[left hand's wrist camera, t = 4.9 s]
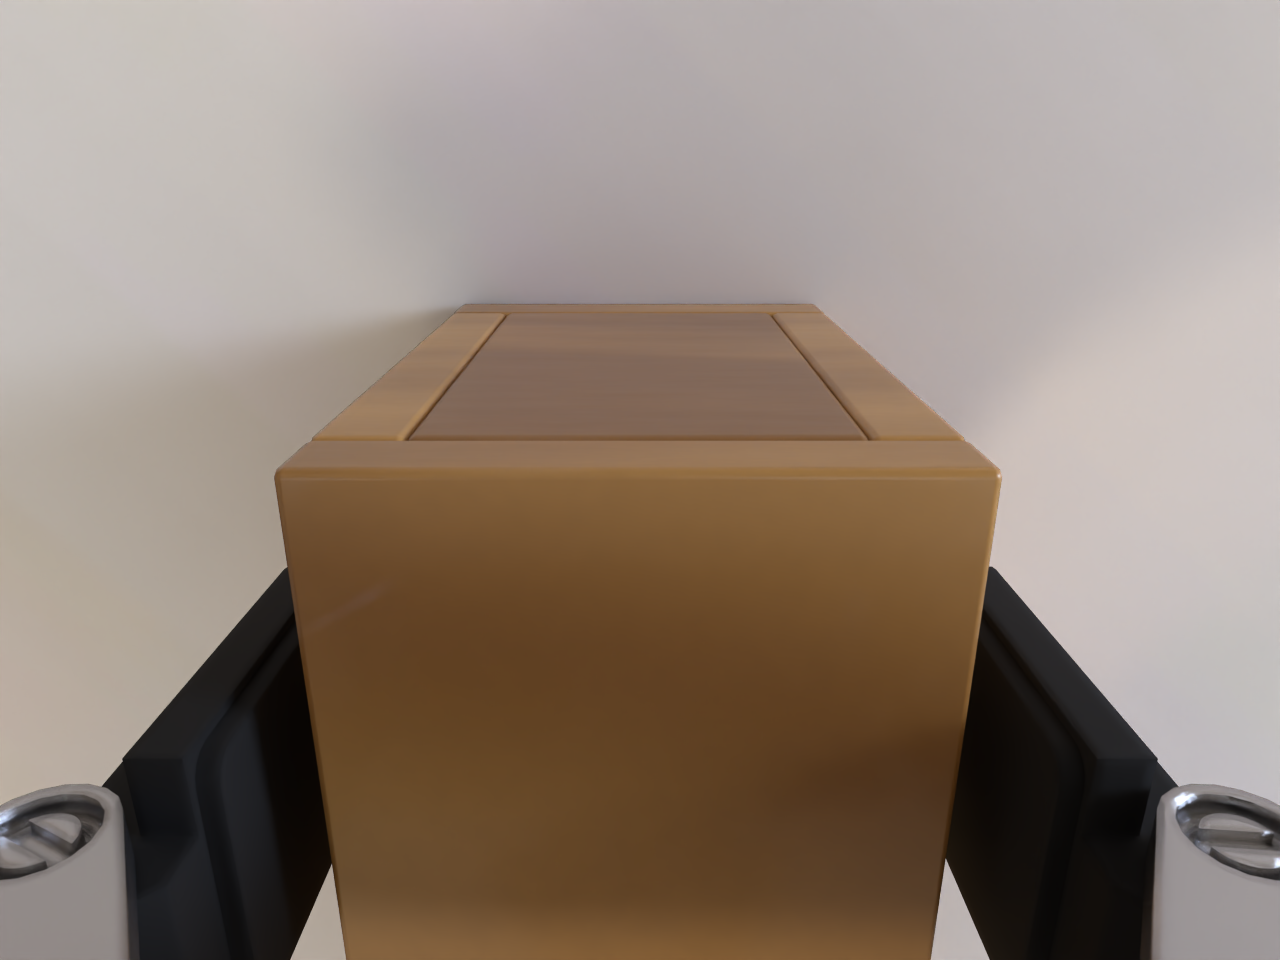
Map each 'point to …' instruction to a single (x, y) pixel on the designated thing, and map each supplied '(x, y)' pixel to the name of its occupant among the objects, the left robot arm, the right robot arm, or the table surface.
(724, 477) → the cabinet
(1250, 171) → the table surface
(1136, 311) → the table surface
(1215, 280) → the table surface
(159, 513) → the table surface
